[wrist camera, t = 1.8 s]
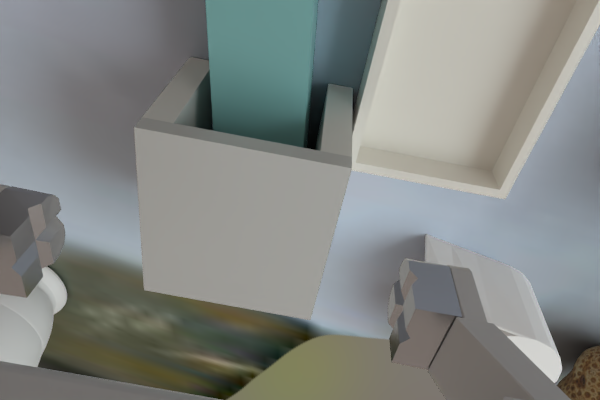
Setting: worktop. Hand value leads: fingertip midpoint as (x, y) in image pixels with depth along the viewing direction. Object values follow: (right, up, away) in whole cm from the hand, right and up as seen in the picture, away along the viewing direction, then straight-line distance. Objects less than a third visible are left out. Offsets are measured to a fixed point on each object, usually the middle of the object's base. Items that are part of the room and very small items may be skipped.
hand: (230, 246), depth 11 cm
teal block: (0, +9, +17) cm, 20 cm away
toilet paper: (+15, -5, +26) cm, 31 cm away
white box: (-1, +4, +21) cm, 21 cm away
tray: (+11, +10, +15) cm, 21 cm away
